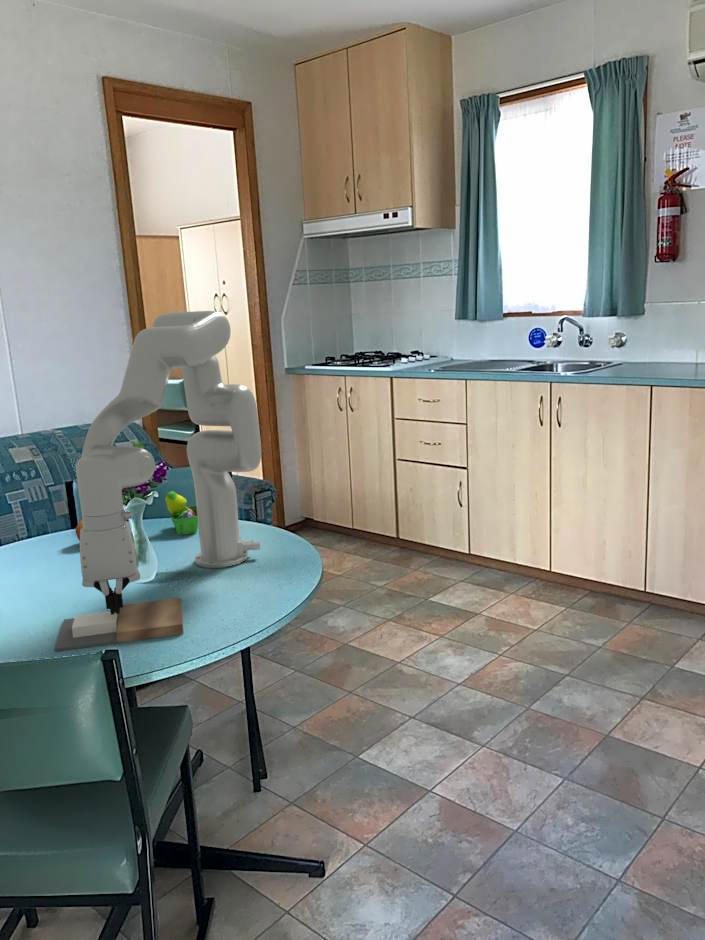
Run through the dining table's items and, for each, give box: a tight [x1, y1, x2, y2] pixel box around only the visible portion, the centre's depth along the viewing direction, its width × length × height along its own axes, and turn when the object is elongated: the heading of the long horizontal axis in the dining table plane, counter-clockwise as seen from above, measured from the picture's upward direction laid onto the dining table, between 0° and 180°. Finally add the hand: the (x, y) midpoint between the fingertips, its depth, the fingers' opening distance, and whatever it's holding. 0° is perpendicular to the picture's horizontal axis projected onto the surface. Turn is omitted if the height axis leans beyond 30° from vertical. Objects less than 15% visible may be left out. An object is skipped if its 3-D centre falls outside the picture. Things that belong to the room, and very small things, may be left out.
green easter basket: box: [164, 490, 199, 535], centre depth 214 cm, size 11×9×11 cm
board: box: [116, 597, 184, 644], centre depth 152 cm, size 12×14×2 cm
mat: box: [54, 614, 119, 652], centre depth 150 cm, size 11×14×1 cm
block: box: [72, 610, 119, 638], centre depth 150 cm, size 8×6×2 cm
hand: (115, 611), depth 150 cm, fingers closed
